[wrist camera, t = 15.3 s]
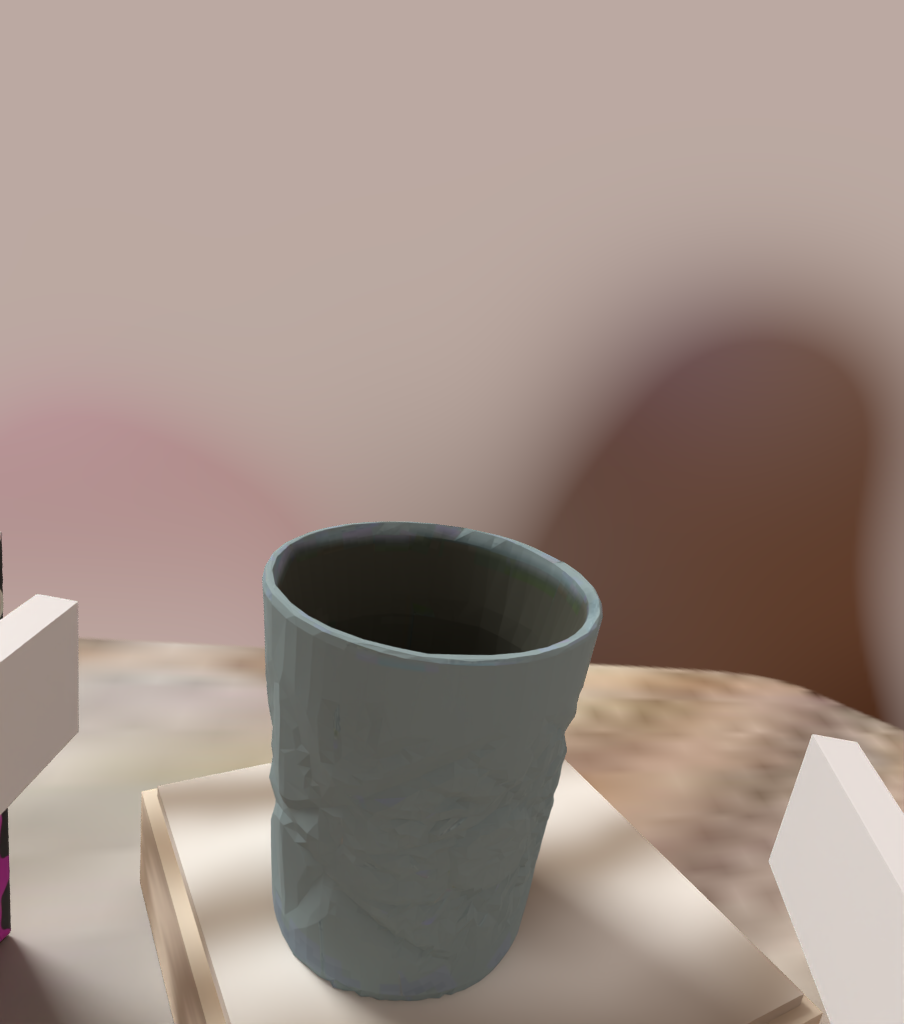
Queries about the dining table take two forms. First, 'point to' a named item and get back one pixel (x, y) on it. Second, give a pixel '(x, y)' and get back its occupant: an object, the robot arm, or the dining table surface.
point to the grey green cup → (415, 745)
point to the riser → (510, 985)
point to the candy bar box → (4, 832)
